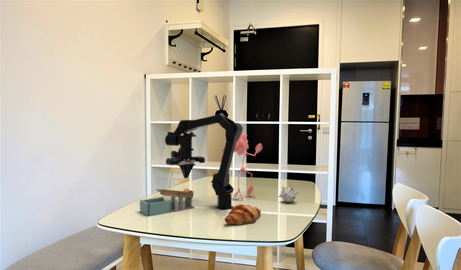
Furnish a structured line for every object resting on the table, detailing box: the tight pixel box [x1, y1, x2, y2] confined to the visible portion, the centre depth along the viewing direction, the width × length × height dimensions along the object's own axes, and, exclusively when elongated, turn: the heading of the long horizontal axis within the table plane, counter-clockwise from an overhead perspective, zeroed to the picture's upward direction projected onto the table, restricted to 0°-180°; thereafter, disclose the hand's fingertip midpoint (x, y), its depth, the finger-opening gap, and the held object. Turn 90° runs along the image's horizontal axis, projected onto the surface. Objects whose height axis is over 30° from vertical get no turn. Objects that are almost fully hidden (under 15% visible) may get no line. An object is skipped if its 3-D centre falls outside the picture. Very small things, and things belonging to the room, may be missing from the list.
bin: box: [139, 196, 172, 217], centre depth 129 cm, size 9×11×5 cm
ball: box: [182, 187, 190, 193], centre depth 138 cm, size 3×3×3 cm
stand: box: [170, 194, 196, 213], centre depth 136 cm, size 9×11×7 cm
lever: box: [155, 188, 195, 199], centre depth 139 cm, size 16×14×3 cm
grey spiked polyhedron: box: [278, 185, 298, 204], centre depth 147 cm, size 9×8×10 cm
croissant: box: [224, 204, 262, 226], centre depth 118 cm, size 21×10×8 cm, turn 139°
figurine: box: [221, 132, 263, 202], centre depth 158 cm, size 15×26×35 cm, turn 133°
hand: (185, 178), depth 145 cm, fingers closed
